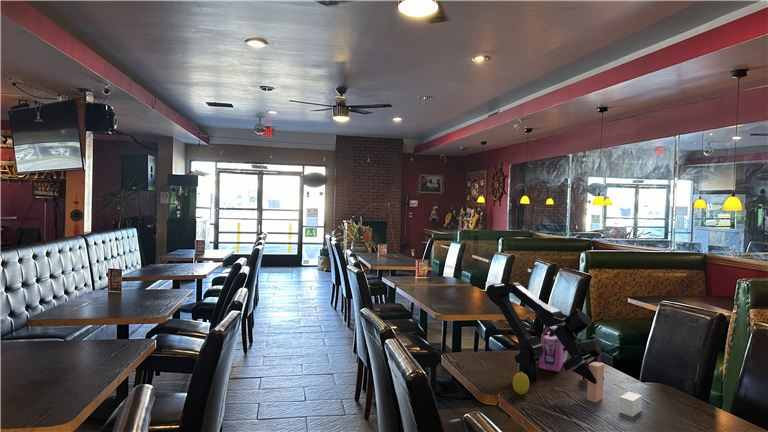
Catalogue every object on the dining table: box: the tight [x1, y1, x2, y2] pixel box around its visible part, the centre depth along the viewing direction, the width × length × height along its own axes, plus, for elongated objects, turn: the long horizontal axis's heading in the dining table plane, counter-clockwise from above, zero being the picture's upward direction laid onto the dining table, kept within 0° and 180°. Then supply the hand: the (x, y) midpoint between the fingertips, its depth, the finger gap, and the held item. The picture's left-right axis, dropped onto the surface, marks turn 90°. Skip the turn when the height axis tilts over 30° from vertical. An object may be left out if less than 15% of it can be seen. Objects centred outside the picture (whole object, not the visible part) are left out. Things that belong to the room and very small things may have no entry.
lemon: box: [512, 372, 530, 396], centre depth 163 cm, size 6×6×8 cm
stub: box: [586, 362, 605, 403], centre depth 159 cm, size 3×5×12 cm, turn 131°
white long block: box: [617, 391, 643, 417], centre depth 156 cm, size 18×7×6 cm, turn 41°
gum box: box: [538, 324, 569, 373], centre depth 198 cm, size 24×8×14 cm, turn 151°
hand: (599, 381), depth 158 cm, fingers closed on stub, 5 cm apart
